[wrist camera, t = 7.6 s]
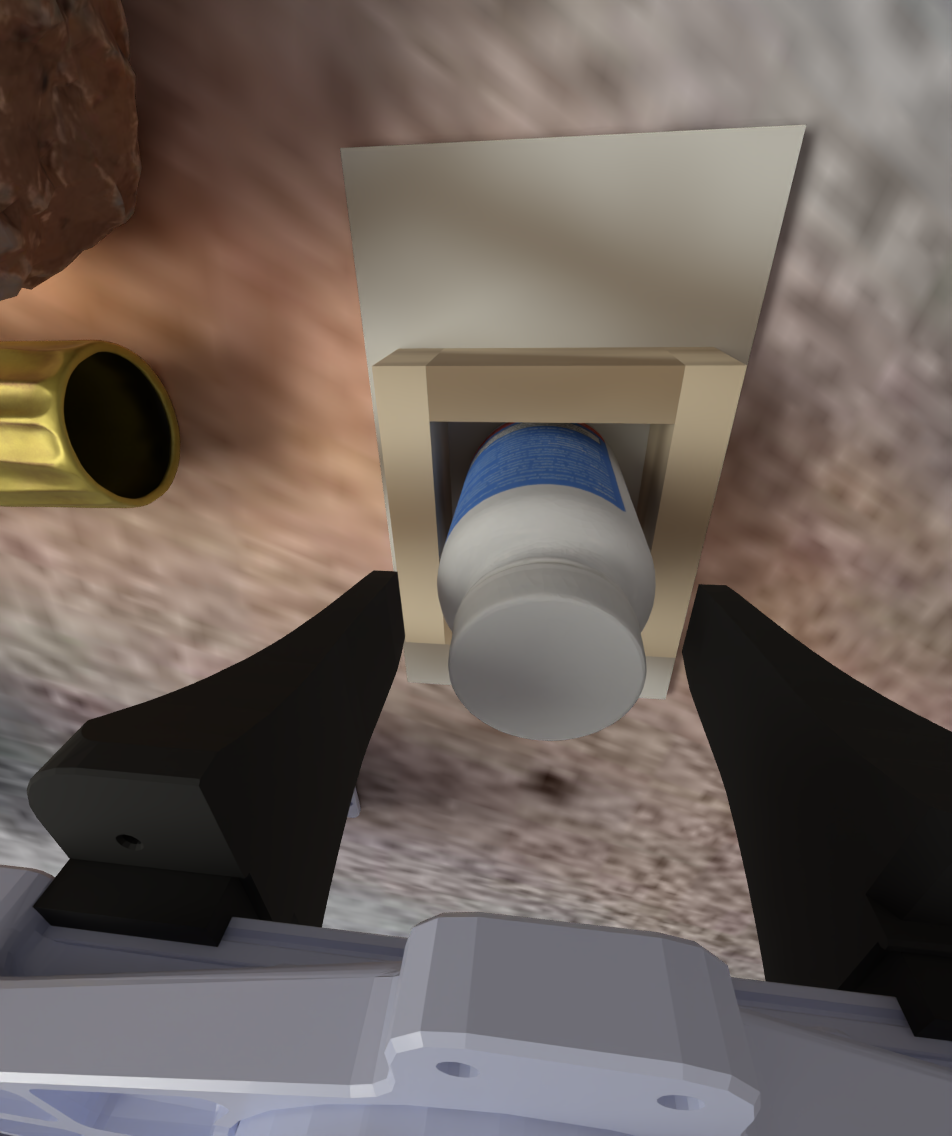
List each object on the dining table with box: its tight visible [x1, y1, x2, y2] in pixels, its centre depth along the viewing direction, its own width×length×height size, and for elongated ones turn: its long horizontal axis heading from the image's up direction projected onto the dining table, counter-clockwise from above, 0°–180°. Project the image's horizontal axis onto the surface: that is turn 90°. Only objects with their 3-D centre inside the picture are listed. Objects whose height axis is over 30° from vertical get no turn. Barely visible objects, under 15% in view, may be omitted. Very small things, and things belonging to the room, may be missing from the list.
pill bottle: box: [437, 422, 656, 741], centre depth 14 cm, size 6×5×10 cm
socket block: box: [340, 125, 806, 699], centre depth 17 cm, size 20×12×3 cm, turn 1°
